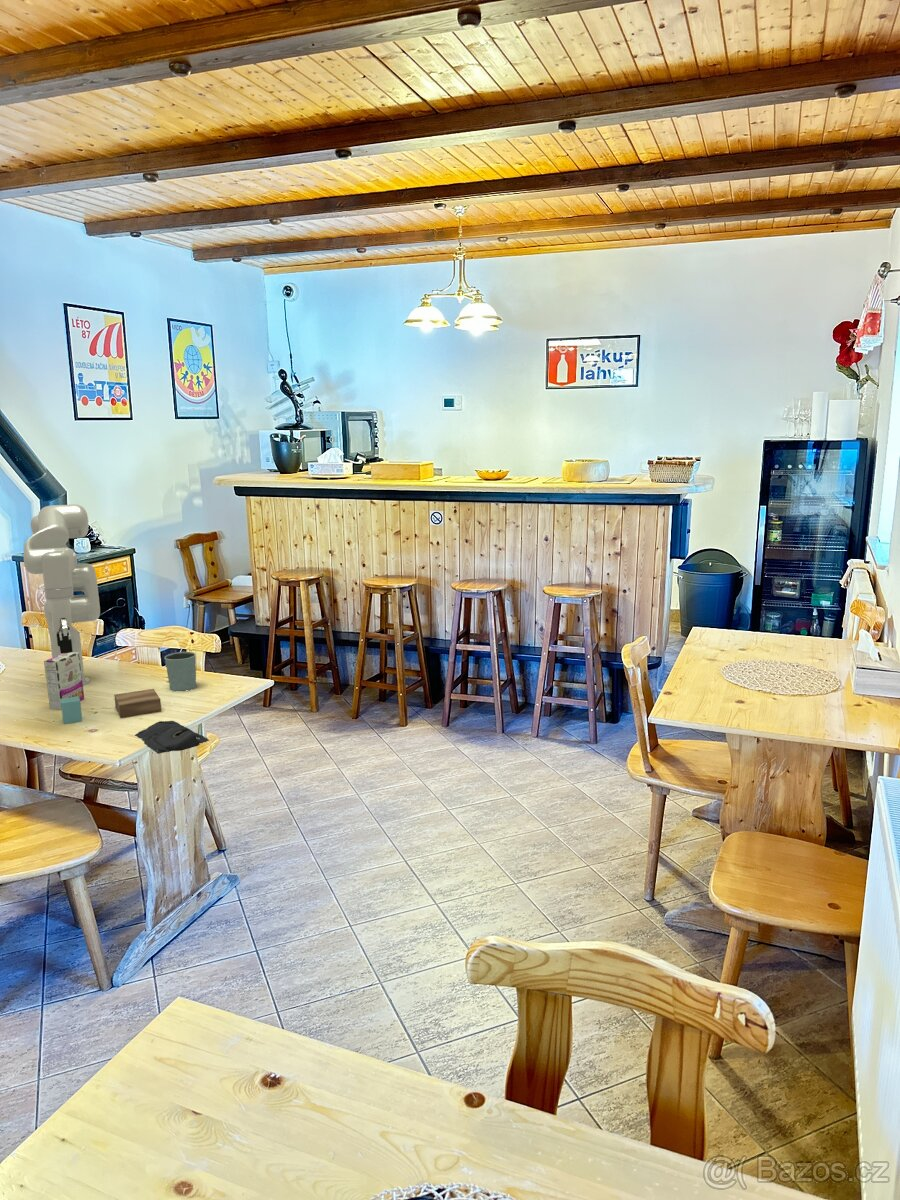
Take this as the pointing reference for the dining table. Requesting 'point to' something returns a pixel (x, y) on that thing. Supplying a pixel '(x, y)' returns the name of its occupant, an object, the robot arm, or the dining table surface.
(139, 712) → the walnut block
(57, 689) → the candy bar box
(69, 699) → the teal block
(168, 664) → the grey green cup
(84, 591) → the robot arm
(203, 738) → the dark slate chunk
